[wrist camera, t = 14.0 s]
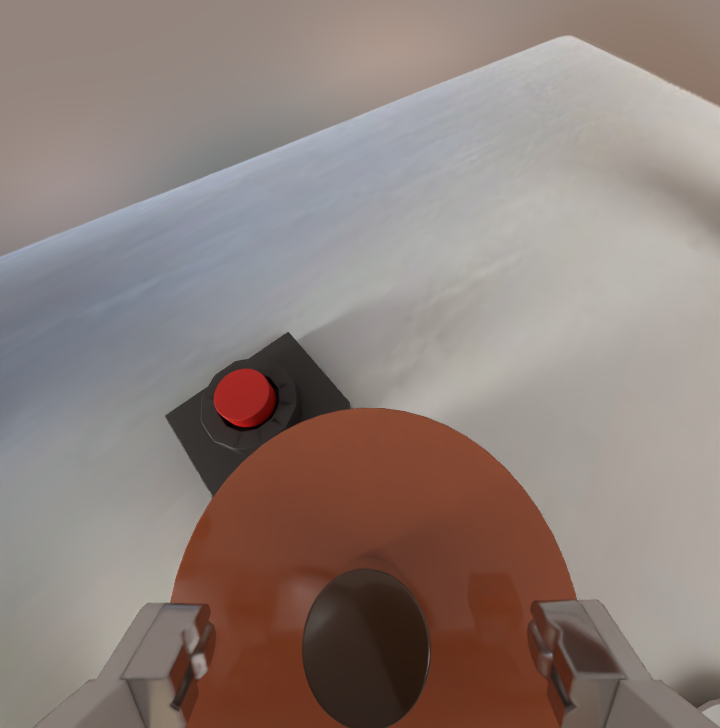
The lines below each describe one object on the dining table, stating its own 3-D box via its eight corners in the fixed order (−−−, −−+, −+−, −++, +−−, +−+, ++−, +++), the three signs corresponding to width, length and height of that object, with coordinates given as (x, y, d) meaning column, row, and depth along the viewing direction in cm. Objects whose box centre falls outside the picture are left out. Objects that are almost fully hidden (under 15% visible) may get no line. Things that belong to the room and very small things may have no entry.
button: (241, 439, 23) (231, 432, 21) (215, 399, 24) (203, 390, 22) (286, 405, 23) (279, 396, 22) (258, 369, 25) (250, 358, 23)
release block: (227, 508, 24) (204, 505, 20) (176, 422, 27) (149, 407, 23) (351, 410, 26) (347, 393, 23) (292, 341, 29) (282, 318, 26)
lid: (122, 565, 13) (-48, 588, 8) (386, 361, 16) (391, 280, 11) (337, 1067, 8) (269, 2033, 3) (649, 629, 11) (879, 712, 6)
